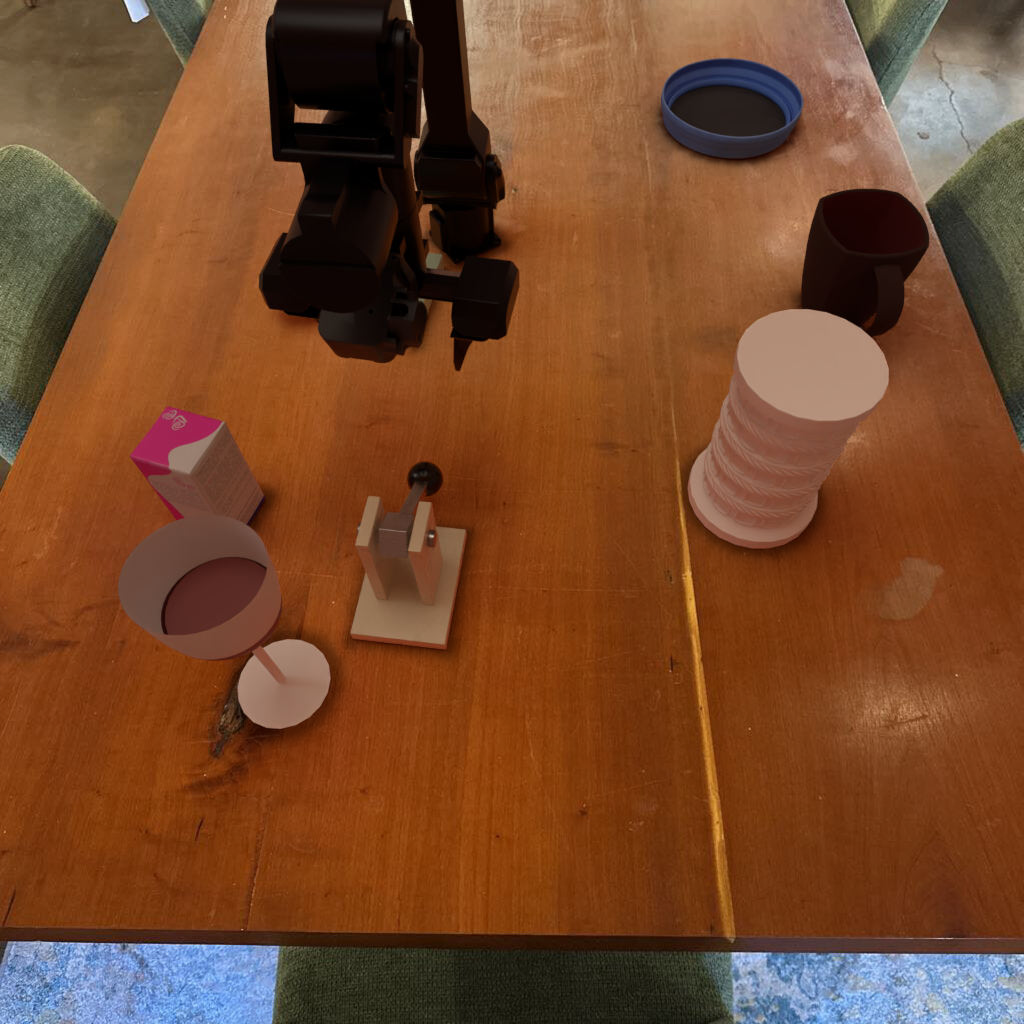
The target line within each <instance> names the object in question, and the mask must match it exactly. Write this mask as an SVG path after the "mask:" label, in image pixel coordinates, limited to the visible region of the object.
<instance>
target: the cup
mask: <svg viewBox="0 0 1024 1024" xmlns="http://www.w3.org/2000/svg"><path fill="white" fill-rule="evenodd" d="M808 232H809V233H808V237H807V241H806V248H805V254H804V260H803V267H802V276H801V285H800V286H801V288H800V289H801V290H800V291H801V292H800V295H801V296H800V298H801V299H800V305H801V306H800V307H801V309H809V310H815V311H821V312H827V313H829V314H832V315H835V316H838V317H840V318H843V319H845V320H847V321H849V322H851V323H852V324H854V325H856V326H857V327H859V328H861V329H862V330H863V331H864V332H865V333H867V334H868V335H869V336H870V337H871V338H873V337H877V336H878V337H879V336H881V335H884V334H886V333H888V332H889V331H891V330H892V329H893V328H894V327H895V326H897V324H898V323H899V320H900V318H901V315H902V313H903V309H904V304H905V294H906V293H905V282H906V281H907V280H908V278H909V277H910V276H911V274H912V273H913V272H914V271H915V269H916V268H917V266H918V265H919V263H920V262H921V260H922V259H923V257H924V255H925V254H926V253H927V250H928V249H929V247H930V233H929V228H928V225H927V222H926V220H925V218H924V217H923V215H922V213H921V212H920V210H919V209H918V208H917V207H916V206H915V205H914V204H913V203H912V201H911V200H910V199H908V198H907V197H906V196H904V195H903V194H901V193H900V192H898V191H895V190H888V189H883V188H882V189H881V188H852V189H851V188H850V189H844V190H840V191H835V192H832V193H829V194H827V195H825V196H822V197H820V198H819V200H818V202H817V205H816V208H815V209H814V214H813V218H812V220H811V224H810V228H809V231H808ZM872 317H874V319H873V321H872V323H871V325H870V326H869V327H868V329H864V328H863V327H862V326H863V325H864V324H865V323H867V322H868V321H869V320H870V319H871V318H872Z"/></svg>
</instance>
